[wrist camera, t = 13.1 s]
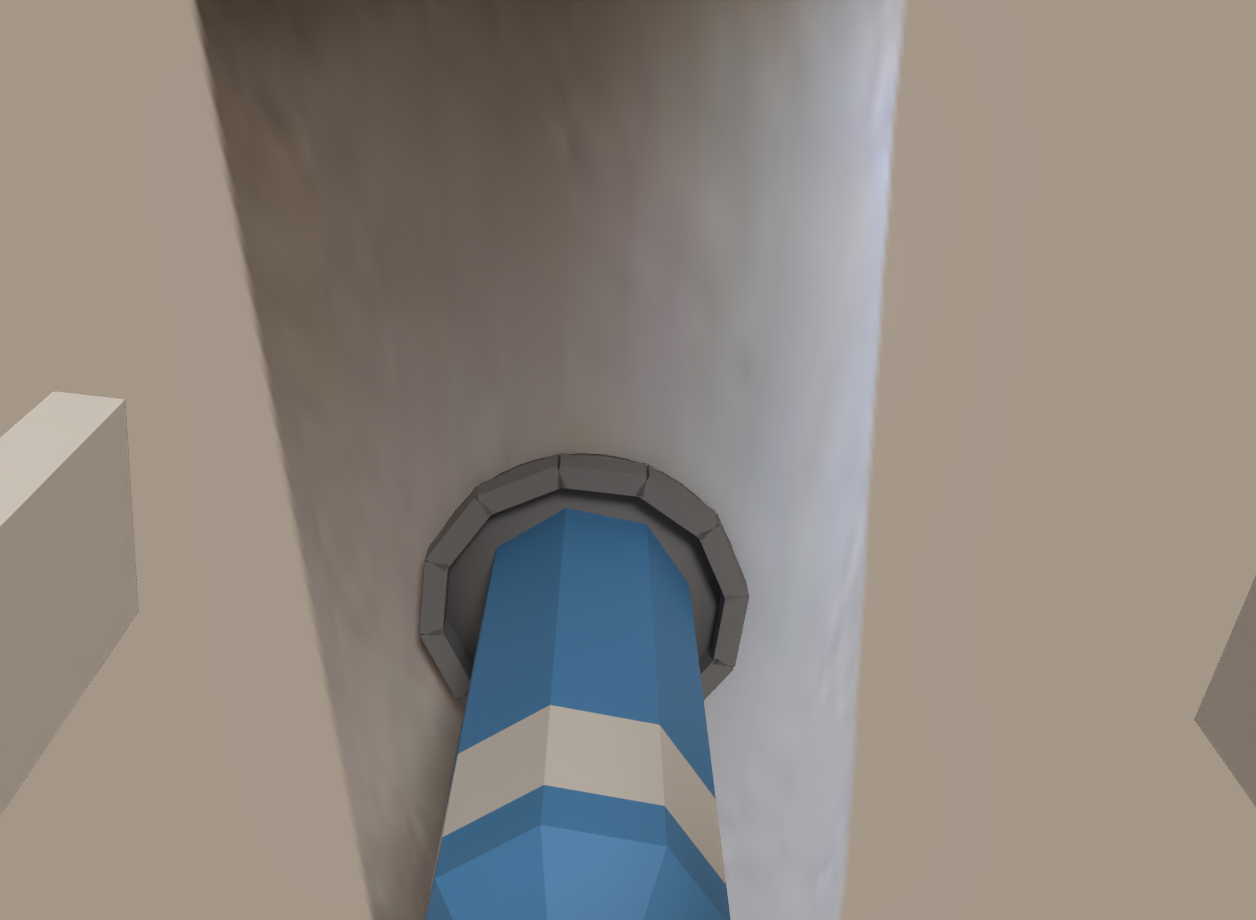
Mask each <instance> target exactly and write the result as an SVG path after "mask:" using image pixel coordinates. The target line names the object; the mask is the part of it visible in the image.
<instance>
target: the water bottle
mask: <svg viewBox="0 0 1256 920" xmlns="http://www.w3.org/2000/svg"><path fill="white" fill-rule="evenodd" d="M425 920H730V913H729V904H728V896H727V888H726V880H725V872H724V864H723V855H722V847H721V839H720V831H719V823H718V815H717V806H716V798H715V790H714V782H713V774H712V766H711V757H710V749H709V741H708V733H707V725H706V717H705V708H704V700H703V692H702V684H701V676H700V668H699V659H698V651H697V643H696V635H695V627H694V619H693V611H692V602H691V594H690V586H689V584H688V582H687V581H686V579H685V578H684V577H683V575H682V574H681V572H680V571H679V569H678V568H677V566H676V565H675V564H674V562H673V561H672V559H671V558H670V556H669V555H668V554H667V552H666V551H665V549H664V548H663V546H662V545H661V543H660V542H659V541H658V539H657V538H656V536H655V535H654V533H653V532H652V531H651V529H650V528H649V526H648V525H647V524H644V523H639V522H634V521H629V520H624V519H619V518H614V517H609V516H604V515H599V514H594V513H589V512H584V511H579V510H574V509H569V508H565V509H563V510H561V511H560V512H558V513H556V514H554V515H553V516H551V517H549V518H547V519H546V520H544V521H542V522H540V523H539V524H537V525H535V526H533V527H532V528H530V529H528V530H526V531H525V532H523V533H521V534H519V535H518V536H516V537H514V538H512V539H511V540H509V541H507V542H505V543H504V544H502V545H500V546H498V547H497V549H496V554H495V559H494V564H493V568H492V573H491V578H490V583H489V587H488V592H487V597H486V602H485V606H484V611H483V616H482V621H481V626H480V632H479V637H478V642H477V647H476V653H475V658H474V663H473V668H472V674H471V679H470V684H469V689H468V695H467V700H466V705H465V711H464V716H463V721H462V726H461V732H460V737H459V742H458V747H457V753H456V758H455V763H454V768H453V774H452V779H451V784H450V789H449V795H448V800H447V805H446V810H445V816H444V821H443V826H442V831H441V837H440V842H439V847H438V852H437V858H436V863H435V868H434V873H433V879H432V884H431V889H430V894H429V900H428V905H427V910H426V915H425Z"/></svg>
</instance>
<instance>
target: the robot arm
mask: <svg viewBox="0 0 1256 920" xmlns="http://www.w3.org/2000/svg"><path fill="white" fill-rule="evenodd" d="M136 581H137V579H136V563H135V547H134V531H133V515H132V500H131V483H130V467H129V451H128V435H127V419H126V404H125V399H117V398H108V397H100V396H91V395H81V394H74V393H64V392H56V391H53V392H52V393H51V394H50V395H48V396H47V397H46V398H45V399H44V400H43V401H42V402H40V403H39V404H38V405H37V406H36V407H35V408H34V409H32V411H30V412H29V413H28V414H27V415H26V416H24V417H23V418H22V419H21V420H20V421H19V422H18V423H16V424H15V425H14V426H13V427H12V428H11V429H10V430H8V431H7V432H6V433H5V434H4V435H3V436H2V437H0V816H1V814H2V813H3V812H4V810H5V808H6V807H7V806H8V804H9V803H10V801H11V800H12V798H13V797H14V795H15V794H16V792H17V791H18V789H19V788H20V786H21V785H22V783H23V782H24V780H25V779H26V777H27V776H28V774H29V773H30V771H31V770H32V769H33V767H34V766H35V764H36V762H37V761H38V760H39V758H40V757H41V755H42V754H43V752H44V751H45V749H46V748H47V746H48V745H49V743H50V742H51V740H52V739H53V737H54V736H55V734H56V733H57V731H58V730H59V728H60V727H61V725H62V724H63V722H64V721H65V719H66V718H67V717H68V715H69V713H70V712H71V711H72V709H73V708H74V706H75V705H76V703H77V702H78V700H79V699H80V697H81V696H82V694H83V693H84V691H85V690H86V688H87V687H88V685H89V684H90V682H91V681H92V679H93V678H94V676H95V675H96V673H97V672H98V670H99V669H100V667H101V666H102V665H103V663H104V661H105V660H106V658H107V657H108V656H109V654H110V653H111V651H112V650H113V648H114V647H115V645H116V644H117V642H118V641H119V639H120V637H121V636H122V635H123V633H124V632H125V630H126V629H127V627H128V626H129V624H130V622H131V621H132V620H133V618H134V617H135V615H136V614H137V612H138V596H137V582H136ZM1194 720H1195V721H1196V723H1197V724H1198V726H1199V727H1200V728H1201V730H1202V731H1203V733H1204V734H1205V735H1206V737H1207V738H1208V740H1209V741H1210V742H1211V744H1212V745H1213V747H1214V748H1215V750H1216V751H1217V752H1218V754H1219V755H1220V757H1221V758H1222V760H1223V761H1224V762H1225V764H1226V765H1227V767H1228V768H1229V769H1230V771H1231V772H1232V774H1233V775H1234V776H1235V778H1236V779H1237V781H1238V782H1239V784H1240V785H1241V786H1242V788H1243V789H1244V791H1245V792H1246V794H1247V795H1248V796H1249V798H1250V799H1251V801H1252V802H1253V803H1254V805H1255V806H1256V577H1255V579H1254V581H1253V584H1252V586H1251V588H1250V591H1249V593H1248V595H1247V598H1246V600H1245V602H1244V605H1243V607H1242V609H1241V612H1240V614H1239V616H1238V619H1237V621H1236V623H1235V626H1234V628H1233V630H1232V633H1231V635H1230V637H1229V640H1228V642H1227V644H1226V647H1225V649H1224V651H1223V654H1222V656H1221V658H1220V661H1219V663H1218V666H1217V668H1216V670H1215V672H1214V675H1213V677H1212V679H1211V682H1210V684H1209V686H1208V689H1207V691H1206V694H1205V696H1204V698H1203V700H1202V703H1201V705H1200V708H1199V710H1198V712H1197V715H1196V717H1195V719H1194Z"/></svg>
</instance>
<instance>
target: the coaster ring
mask: <svg viewBox="0 0 1256 920" xmlns="http://www.w3.org/2000/svg"><path fill="white" fill-rule="evenodd" d="M565 508H569V509H574V510H579V511H584V512H589V513H594V514H599V515H604V516H609V517H614V518H619V519H624V520H629V521H634V522H639V523H644V524H647V525H648V526H649V528H650V529H651V531H652V532H653V533H654V535H655V536H656V538H657V539H658V541H659V542H660V543H661V545H662V546H663V548H664V549H665V551H666V552H667V554H668V555H669V556H670V558H671V559H672V561H673V562H674V564H675V565H676V566H677V568H678V569H679V571H680V572H681V574H682V575H683V577H684V578H685V579H686V581H687V582H688V584H689V586H690V594H691V602H692V611H693V619H694V627H695V635H696V643H697V651H698V659H699V668H700V676H701V684H702V692H703V700H705V699H706V697H707V696H708V695H709V694H710V693H711V692H712V691H713V690H714V689H715V688H716V687H717V686H718V685H719V684H720V683H721V682H722V681H723V680H724V679H725V678H726V677H727V676H728V674H729V673H730V672H731V671H732V670H733V667H735V663H736V658H737V653H738V649H739V644H740V639H741V634H742V629H743V624H744V619H745V614H746V609H747V604H748V600H749V594H748V589H747V585H746V580H745V578H744V576H743V573H742V571H741V568H740V566H739V564H738V561H737V559H736V557H735V554H734V551H733V548H732V546H731V543H730V541H729V539H728V537H727V535H726V533H725V531H724V529H723V526H722V524H721V522H720V519H719V517H718V514H716V513H715V511H714V510H713V509H711V508H710V507H709V506H707V505H706V504H704V503H703V502H702V501H701V500H700V499H699V498H698V497H697V496H696V495H695V494H694V493H692V492H691V491H690V490H689V489H687V488H686V487H685V486H684V485H682V484H681V483H679V482H678V481H676V480H674V479H673V478H671V477H669V476H668V475H666V474H664V473H662V472H660V471H658V470H656V469H654V468H653V467H652V466H650V465H648V466H647V465H646V464H645V463H638V462H634V461H631V460H628V459H624V458H619V457H613V456H608V455H599V454H561V455H558V454H556V455H554V456H551V457H547V458H541V459H537V460H534V461H531V462H528V463H525V464H521V465H518V466H516V467H514V468H512V469H510V470H508V471H505V472H503V473H501V474H499V475H498V476H496V477H494V478H493V479H491V480H489V481H486V482H484V483H481V484H479V487H478V486H477V487H476V488H475V489H474V490H473V492H472V493H471V494H470V495H469V497H467V499H466V500H465V501H464V502H463V503H462V504H461V505H460V506H459V507H458V508H457V510H456V511H455V512H454V513H453V515H452V516H451V517H450V519H449V520H448V522H447V523H446V525H445V526H444V528H443V530H442V531H441V532H440V533H439V535H438V536H437V537H436V538H435V540H434V541H433V542H432V543H431V545H430V546H429V549H428V552H427V556H426V559H425V563H424V577H423V591H422V605H421V619H420V633H419V634H421V635H420V637H421V639H422V641H423V642H424V644H425V646H426V648H427V649H428V651H429V653H430V655H431V656H432V658H433V660H434V662H435V663H436V665H437V667H438V668H439V670H440V672H441V674H442V675H443V677H444V679H445V681H446V682H447V684H448V686H449V688H450V689H451V691H452V693H453V695H454V696H455V698H456V699H458V698H459V700H458V701H459V702H460V703H462V704H464V705H466V700H467V695H468V689H469V684H470V679H471V674H472V668H473V663H474V658H475V653H476V647H477V642H478V637H479V632H480V626H481V621H482V616H483V611H484V606H485V602H486V597H487V592H488V587H489V583H490V578H491V573H492V568H493V564H494V559H495V554H496V549H497V547H498V546H500V545H502V544H504V543H505V542H507V541H509V540H511V539H512V538H514V537H516V536H518V535H519V534H521V533H523V532H525V531H526V530H528V529H530V528H532V527H533V526H535V525H537V524H539V523H540V522H542V521H544V520H546V519H547V518H549V517H551V516H553V515H554V514H556V513H558V512H560V511H561V510H563V509H565Z"/></svg>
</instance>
